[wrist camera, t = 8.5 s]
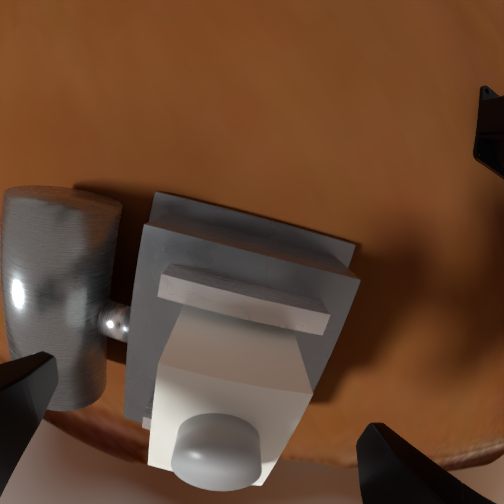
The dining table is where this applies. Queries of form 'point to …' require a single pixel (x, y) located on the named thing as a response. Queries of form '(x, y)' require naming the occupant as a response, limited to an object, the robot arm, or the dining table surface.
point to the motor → (157, 284)
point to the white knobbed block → (225, 399)
